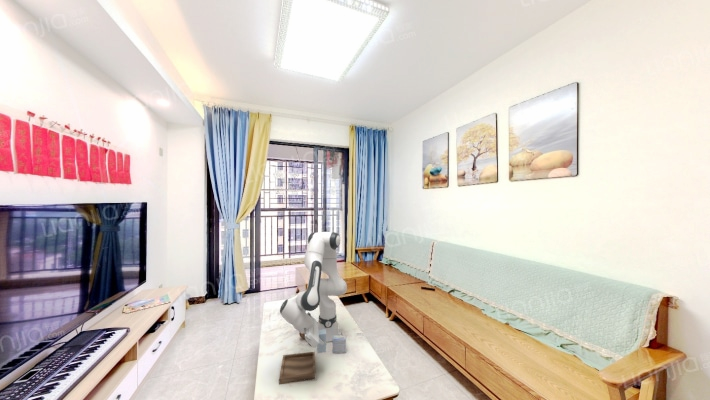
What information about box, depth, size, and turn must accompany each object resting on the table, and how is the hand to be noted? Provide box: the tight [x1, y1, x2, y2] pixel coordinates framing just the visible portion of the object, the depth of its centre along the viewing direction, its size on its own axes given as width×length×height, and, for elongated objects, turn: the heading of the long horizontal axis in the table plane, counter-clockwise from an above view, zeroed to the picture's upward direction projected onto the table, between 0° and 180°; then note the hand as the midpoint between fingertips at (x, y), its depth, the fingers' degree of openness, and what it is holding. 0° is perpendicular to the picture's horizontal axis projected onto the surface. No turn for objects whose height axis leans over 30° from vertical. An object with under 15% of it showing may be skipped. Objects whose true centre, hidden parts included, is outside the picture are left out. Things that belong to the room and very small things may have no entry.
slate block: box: [316, 329, 327, 354], centre depth 128 cm, size 4×4×10 cm
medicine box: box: [332, 334, 347, 354], centre depth 144 cm, size 8×4×9 cm, turn 92°
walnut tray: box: [278, 351, 316, 385], centre depth 128 cm, size 18×18×3 cm
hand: (322, 340), depth 128 cm, fingers closed on slate block, 4 cm apart
